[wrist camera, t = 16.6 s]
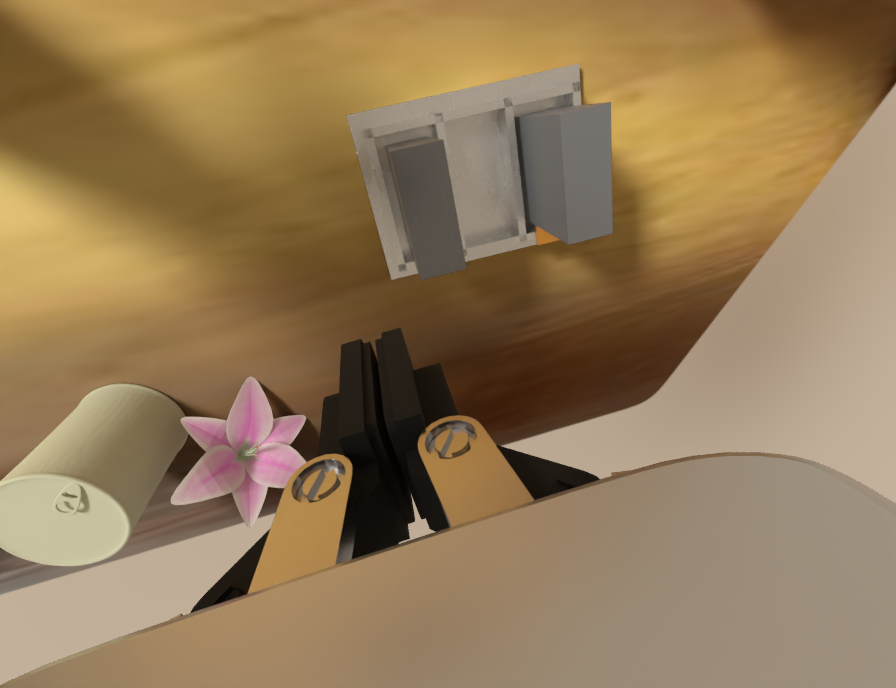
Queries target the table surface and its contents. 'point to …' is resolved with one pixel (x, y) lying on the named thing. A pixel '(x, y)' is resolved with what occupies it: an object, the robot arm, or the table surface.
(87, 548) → the can
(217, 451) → the lily
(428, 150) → the rack
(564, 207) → the panel
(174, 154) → the table surface
